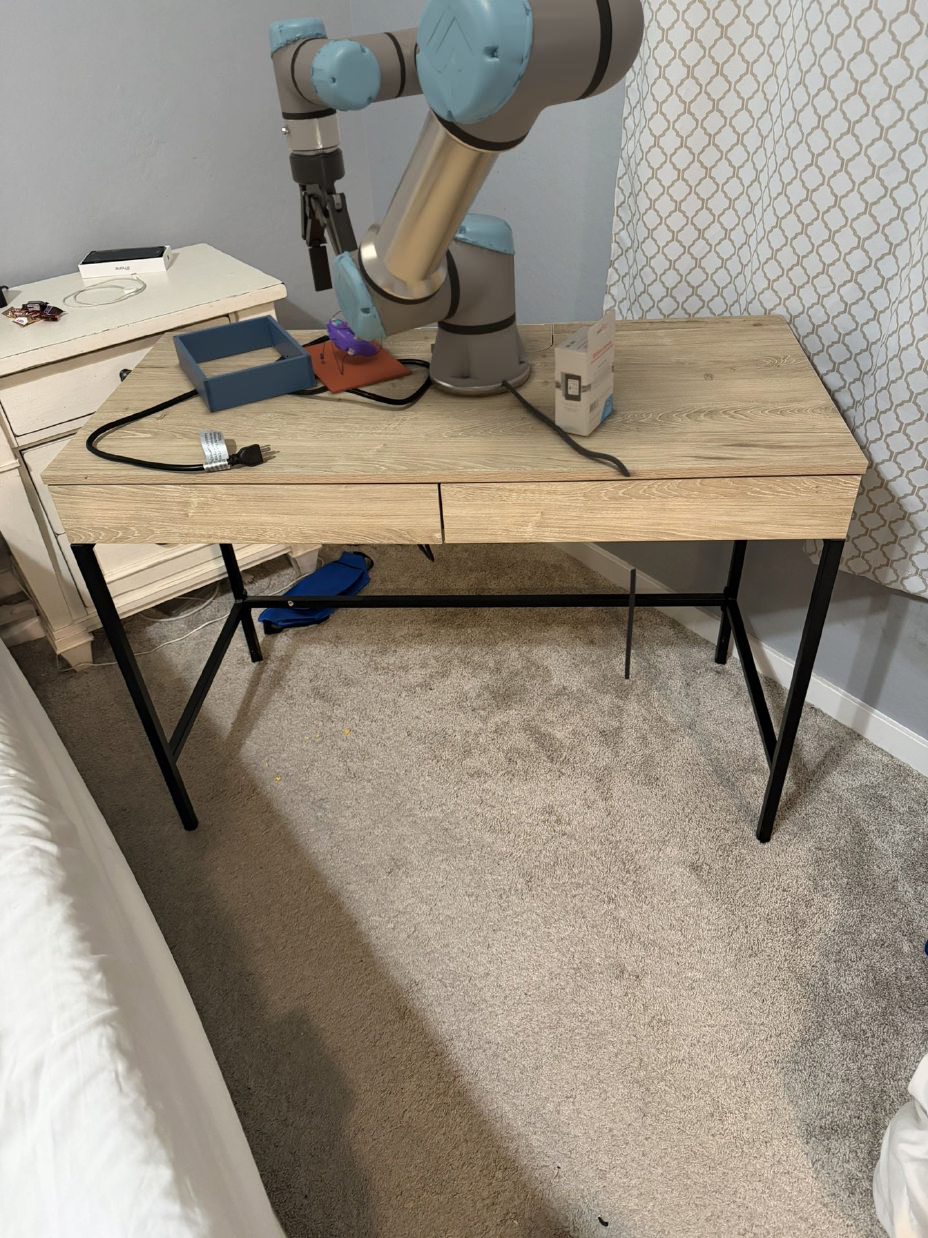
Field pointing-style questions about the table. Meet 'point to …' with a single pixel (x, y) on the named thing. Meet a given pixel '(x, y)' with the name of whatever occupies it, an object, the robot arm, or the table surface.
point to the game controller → (348, 340)
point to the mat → (353, 367)
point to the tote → (248, 381)
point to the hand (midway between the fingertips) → (338, 300)
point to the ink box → (585, 377)
